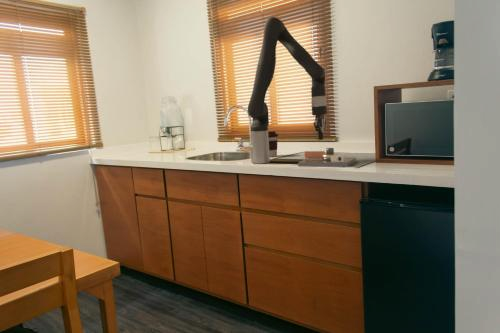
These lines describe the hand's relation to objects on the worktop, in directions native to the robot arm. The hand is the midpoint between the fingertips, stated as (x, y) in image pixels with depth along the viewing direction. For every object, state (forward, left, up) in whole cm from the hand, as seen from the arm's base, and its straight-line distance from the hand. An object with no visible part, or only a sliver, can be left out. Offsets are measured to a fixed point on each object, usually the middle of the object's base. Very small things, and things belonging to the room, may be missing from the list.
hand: (321, 139), depth 203 cm
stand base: (+6, -9, -11) cm, 15 cm away
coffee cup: (-38, +18, -12) cm, 44 cm away
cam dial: (+2, -7, -9) cm, 11 cm away
